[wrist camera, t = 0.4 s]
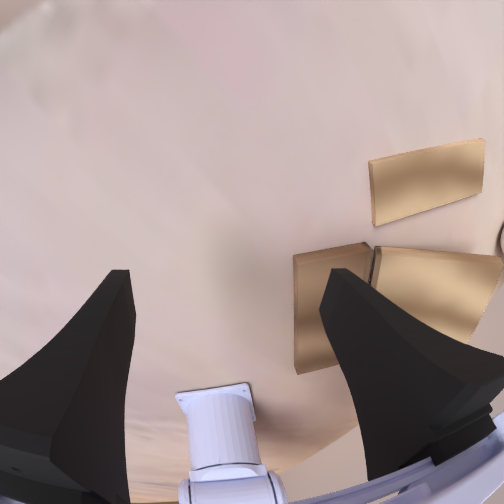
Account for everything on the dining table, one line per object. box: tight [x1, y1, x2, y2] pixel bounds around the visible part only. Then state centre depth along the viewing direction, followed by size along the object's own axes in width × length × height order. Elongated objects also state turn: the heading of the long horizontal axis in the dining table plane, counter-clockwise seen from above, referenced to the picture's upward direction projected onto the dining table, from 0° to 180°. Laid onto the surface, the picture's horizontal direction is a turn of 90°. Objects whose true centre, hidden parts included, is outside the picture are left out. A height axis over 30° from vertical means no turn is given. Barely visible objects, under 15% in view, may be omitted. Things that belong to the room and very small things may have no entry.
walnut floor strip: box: [293, 242, 373, 375], centre depth 27 cm, size 14×6×1 cm, turn 6°
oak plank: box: [369, 246, 504, 344], centre depth 25 cm, size 13×12×1 cm
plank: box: [368, 138, 485, 226], centre depth 21 cm, size 5×12×1 cm, turn 104°
